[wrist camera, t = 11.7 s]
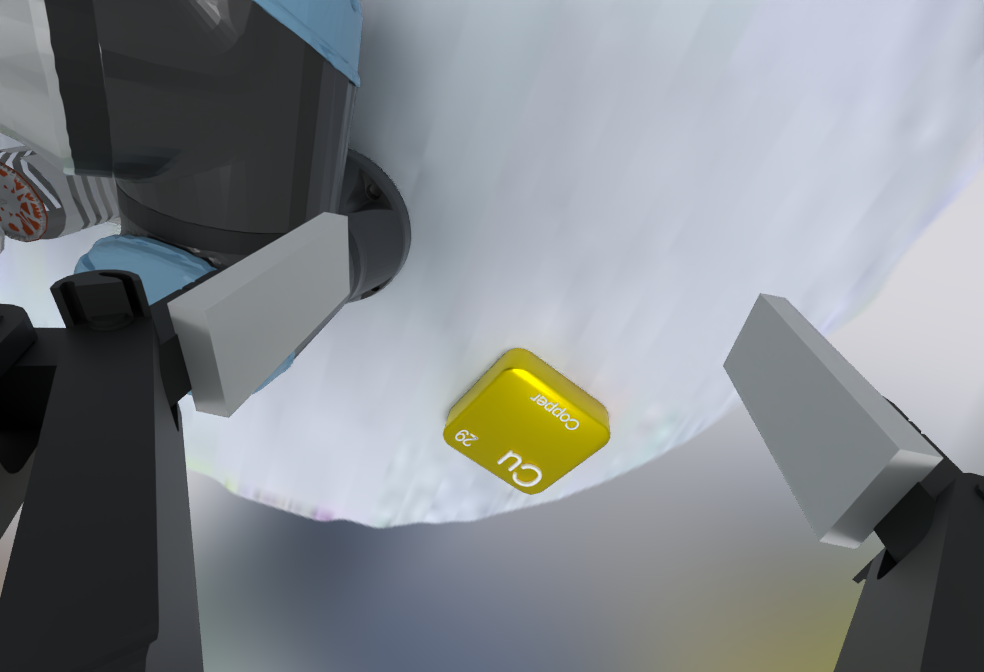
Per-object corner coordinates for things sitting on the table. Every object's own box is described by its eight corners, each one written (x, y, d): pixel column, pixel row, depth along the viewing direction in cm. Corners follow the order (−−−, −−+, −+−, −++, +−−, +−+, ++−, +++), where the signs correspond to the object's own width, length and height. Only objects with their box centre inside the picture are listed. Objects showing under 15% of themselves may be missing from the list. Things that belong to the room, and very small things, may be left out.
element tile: (615, 411, 53) (619, 440, 49) (534, 474, 60) (532, 503, 56) (516, 339, 49) (512, 363, 45) (443, 414, 57) (434, 441, 53)
